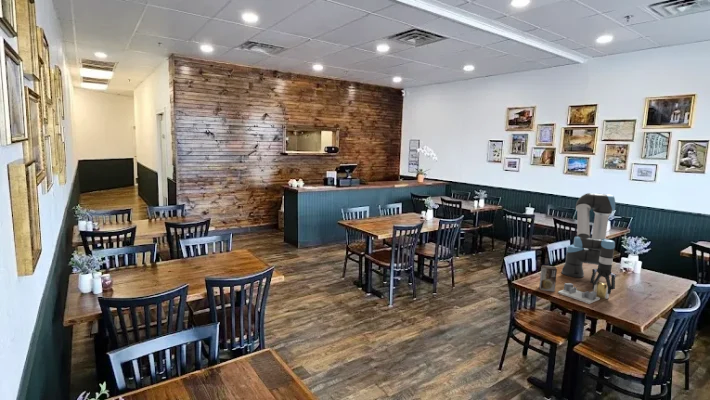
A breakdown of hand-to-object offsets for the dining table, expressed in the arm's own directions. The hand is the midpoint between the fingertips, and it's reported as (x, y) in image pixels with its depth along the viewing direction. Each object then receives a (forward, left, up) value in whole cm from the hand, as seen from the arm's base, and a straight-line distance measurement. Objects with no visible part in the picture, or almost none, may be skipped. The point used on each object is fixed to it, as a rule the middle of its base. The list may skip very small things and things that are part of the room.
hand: (600, 296), depth 259 cm
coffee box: (-26, -20, -1) cm, 33 cm away
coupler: (0, 0, 0) cm, 0 cm away
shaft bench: (-8, -13, 0) cm, 15 cm away
